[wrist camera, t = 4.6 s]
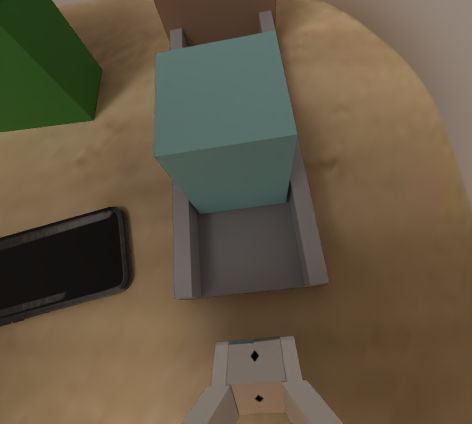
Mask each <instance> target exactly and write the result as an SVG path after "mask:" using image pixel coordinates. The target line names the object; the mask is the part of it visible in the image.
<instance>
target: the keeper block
mask: <svg viewBox="0 0 472 424" xmlns="http://www.w3.org/2000/svg"><path fill="white" fill-rule="evenodd" d="M296 140H297V130H296V125H295V121H294V116H293V111H292V107H291V102H290V97H289V93H288V88H287V83H286V79H285V74H284V69H283V65H282V60H281V55H280V51H279V46H278V41H277V37H276V32H275V30H274V31H269V32H264V33H259V34H254V35H248V36H243V37H238V38H233V39H228V40H222V41H217V42H212V43H207V44H202V45H196V46H191V47H186V48H181V49H175V50H170V51H165V52H160V53H155V139H154V157H155V158H156V160H157V161H158V162H159V163H160V165H161V166H162V167H163V168H164V170H165V171H166V172H167V173H168V174H169V176H170V177H171V178H172V179H173V181H174V182H175V183H176V184H177V186H178V187H179V188H180V189H181V191H182V192H183V193H184V194H185V196H186V197H187V198H188V199H189V201H190V202H191V203H192V204H193V206H194V207H195V208H196V209H197V210H198V212H199V213H200V214H206V213H213V212H221V211H228V210H235V209H243V208H250V207H258V206H265V205H272V204H280V203H286V198H287V192H288V186H289V181H290V175H291V169H292V163H293V157H294V151H295V146H296Z"/></svg>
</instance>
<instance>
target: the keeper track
mask: <svg viewBox="0 0 472 424" xmlns="http://www.w3.org/2000/svg"><path fill="white" fill-rule="evenodd" d="M154 3H155V5H156V8H157V10H158V13H159V15H160V18H161V21H162V23H163V26H164V28H165V31H166V34H167V36H168V39H169V41H170V50H175V49H181V48H186V47H191V46H196V45H202V44H207V43H212V42H217V41H222V40H228V39H233V38H238V37H243V36H248V35H254V34H259V33H264V32H269V31H274V30H275V18H276V0H154ZM275 32H276V31H275ZM276 37H277V36H276ZM277 41H278V40H277ZM278 46H279V45H278ZM279 51H280V50H279ZM280 55H281V54H280ZM281 60H282V59H281ZM282 65H283V64H282ZM283 69H284V68H283ZM284 74H285V73H284ZM285 79H286V78H285ZM286 83H287V82H286ZM287 88H288V87H287ZM288 93H289V92H288ZM289 97H290V96H289ZM290 102H291V101H290ZM291 107H292V106H291ZM292 111H293V110H292ZM293 116H294V115H293ZM294 121H295V120H294ZM295 125H296V124H295ZM296 130H297V129H296ZM172 186H173V247H174V299H180V300H188V299H198V298H207V297H216V296H225V295H235V294H244V293H253V292H263V291H272V290H281V289H290V288H300V287H309V286H318V285H325V284H328V283H329V278H328V273H327V269H326V264H325V259H324V255H323V250H322V245H321V241H320V236H319V231H318V227H317V222H316V217H315V213H314V208H313V203H312V199H311V194H310V189H309V185H308V180H307V175H306V171H305V166H304V162H303V157H302V152H301V148H300V143H299V138H298V134H297V140H296V146H295V151H294V157H293V163H292V169H291V175H290V181H289V186H288V192H287V198H286V203H280V204H272V205H265V206H258V207H250V208H243V209H235V210H228V211H221V212H213V213H206V214H200V213H199V212H198V210H197V209H196V208H195V207H194V206H193V204H192V203H191V202H190V201H189V199H188V198H187V197H186V196H185V194H184V193H183V192H182V191H181V189H180V188H179V187H178V186H177V184H176V183H175V182H174V181H173V179H172Z"/></svg>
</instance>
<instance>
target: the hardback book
mask: <svg viewBox="0 0 472 424" xmlns="http://www.w3.org/2000/svg"><path fill="white" fill-rule="evenodd" d="M101 74H102V69H101V67H100V66H99V65H98V63H97V62H96V60H95V59H94V58H93V56H92V55H91V54H90V52H89V51H88V49H87V48H86V47H85V45H84V44H83V43H82V41H81V40H80V38H79V37H78V36H77V34H76V33H75V32H74V30H73V29H72V27H71V26H70V25H69V23H68V22H67V20H66V19H65V18H64V16H63V15H62V14H61V12H60V11H59V9H58V8H57V7H56V5H55V4H54V3H53V1H52V0H0V132H7V131H15V130H22V129H30V128H38V127H46V126H54V125H62V124H69V123H77V122H85V121H93V120H94V115H95V109H96V103H97V97H98V92H99V86H100V80H101Z"/></svg>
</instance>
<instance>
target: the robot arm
mask: <svg viewBox="0 0 472 424" xmlns="http://www.w3.org/2000/svg"><path fill="white" fill-rule="evenodd" d="M258 413H286V414H287V416H288V418H289V419H290V421H291V422H292V424H343V423H342V421H341V420H340V419H339V418H338V417H337V415H336V414H335V413H334V412H333V411H332V410H331V408H330V407H329V406H328V405H327V404H326V402H325V401H324V400H323V399H322V398H321V396H320V395H319V394H318V393H317V392H316V391H315V389H314V388H313V387H312V386H311V385H310V383H309V382H308V381H307V380H303V379H302V374H301V369H300V364H299V359H298V354H297V349H296V344H295V339H294V337H293V336H285V337H270V338H260V339H255V340H240V341H223V342H217V343H216V346H215V352H214V361H213V369H212V378H211V386H209V387H206V388H205V390H204V391H203V393H202V394H201V396H200V397H199V399H198V400H197V402H196V403H195V405H194V406H193V407H192V409H191V410H190V412H189V413H188V415H187V416H186V418H185V419H184V421H183V422H182V423H181V424H236V423H237V421H238V419H239V415H247V414H258Z"/></svg>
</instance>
